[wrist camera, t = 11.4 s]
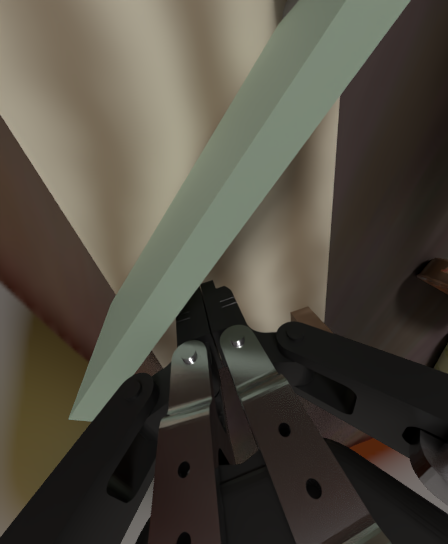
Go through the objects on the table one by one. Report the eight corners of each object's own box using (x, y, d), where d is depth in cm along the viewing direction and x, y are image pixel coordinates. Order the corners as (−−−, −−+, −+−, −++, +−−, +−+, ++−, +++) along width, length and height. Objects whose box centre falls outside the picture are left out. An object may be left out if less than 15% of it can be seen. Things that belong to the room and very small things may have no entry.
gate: (317, 16, 10) (647, -283, 3) (129, 309, 16) (101, 432, 9) (298, -18, 10) (670, -503, 2) (108, 301, 15) (58, 429, 8)
